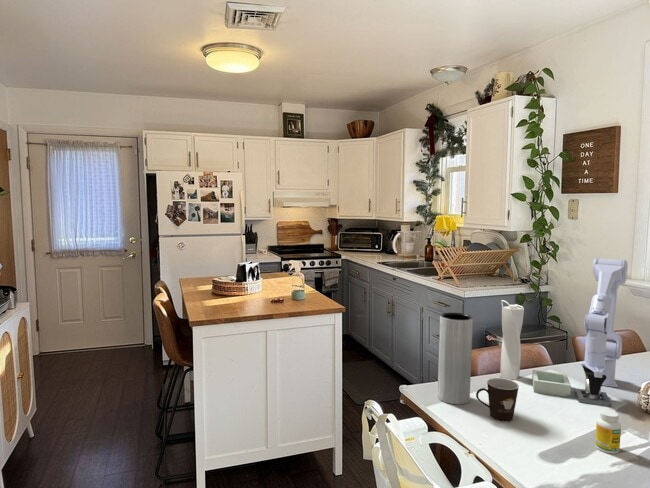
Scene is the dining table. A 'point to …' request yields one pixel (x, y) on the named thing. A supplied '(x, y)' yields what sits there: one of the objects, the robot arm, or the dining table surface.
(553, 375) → the bin
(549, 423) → the dining table surface
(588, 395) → the shiny metal cylinder
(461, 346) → the vase
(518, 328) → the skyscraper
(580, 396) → the grey square frame
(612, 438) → the supplement bottle
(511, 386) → the coffee mug
